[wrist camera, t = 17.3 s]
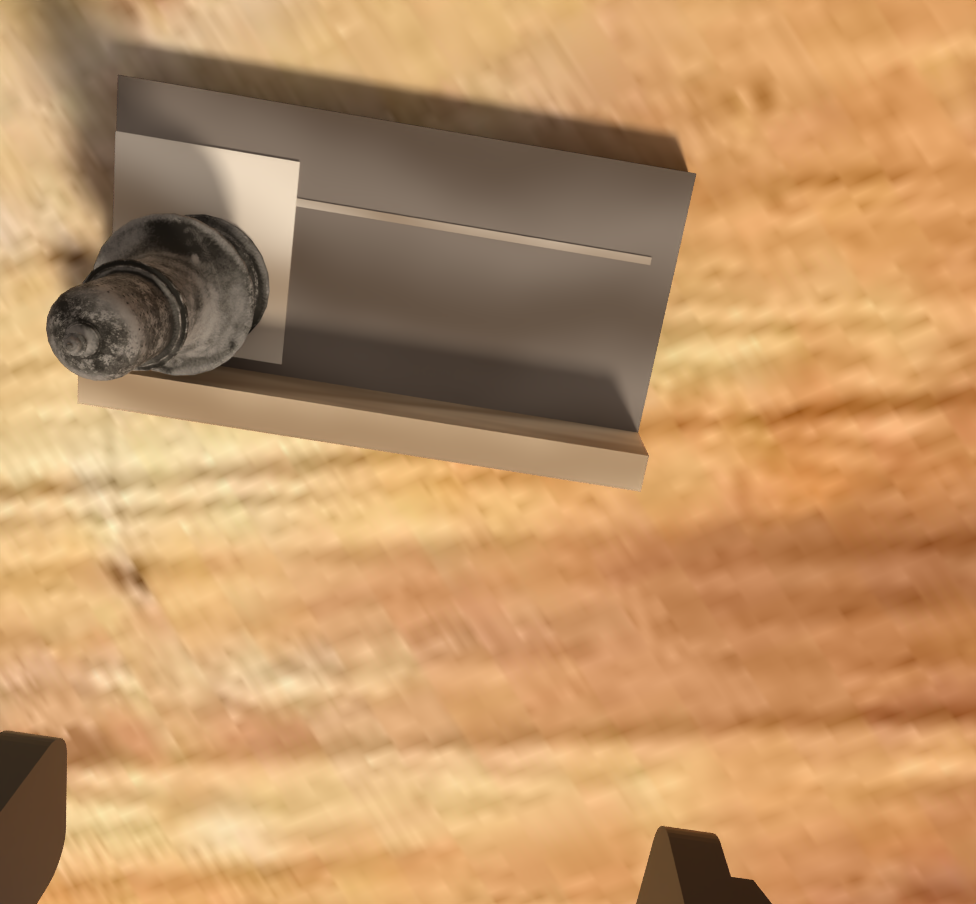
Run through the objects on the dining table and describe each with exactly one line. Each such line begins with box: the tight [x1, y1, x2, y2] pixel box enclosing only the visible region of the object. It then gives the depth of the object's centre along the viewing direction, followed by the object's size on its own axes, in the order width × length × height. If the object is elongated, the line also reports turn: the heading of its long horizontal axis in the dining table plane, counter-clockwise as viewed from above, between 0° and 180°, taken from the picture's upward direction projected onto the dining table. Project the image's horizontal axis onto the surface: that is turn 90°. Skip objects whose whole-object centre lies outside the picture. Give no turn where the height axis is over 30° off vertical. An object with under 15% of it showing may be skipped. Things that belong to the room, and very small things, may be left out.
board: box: [78, 75, 696, 492], centre depth 36 cm, size 12×22×4 cm, turn 81°
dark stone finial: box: [46, 213, 270, 381], centre depth 31 cm, size 6×6×12 cm
